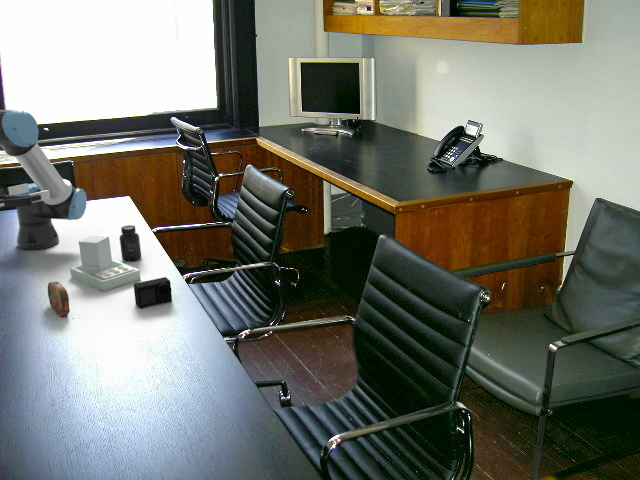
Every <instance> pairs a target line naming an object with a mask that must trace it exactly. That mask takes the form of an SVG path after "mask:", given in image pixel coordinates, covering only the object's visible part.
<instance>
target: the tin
mask: <svg viewBox="0 0 640 480" xmlns="http://www.w3.org/2000/svg"><path fill="white" fill-rule="evenodd" d="M47 284H48V285H47V296H48V301H49V305H50V307H51V309H52V310H53V311H54V312H55V314H56V315H57V316H58V317H64V316H68V315H70V302H69V300H70V298H69V294H68V291H67V289H66V288H65V287H64V285H63V284H62V283H61V282H59V281H50V282H48V283H47Z"/></svg>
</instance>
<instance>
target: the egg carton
mask: <svg viewBox="0 0 640 480" xmlns="http://www.w3.org/2000/svg"><path fill="white" fill-rule="evenodd" d="M132 271H134V269H133V268H130V267H127V266H125V265H120V266H118V267H116V268H111V269H109V270H106V271H102V272H100V273H97V274H95V277H96V278H99V279H101V280H103V281H104V280H107V279H110V278H113V277H116V276H119V275H122V274H125V273H128V272H132Z"/></svg>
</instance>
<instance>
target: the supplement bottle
mask: <svg viewBox="0 0 640 480" xmlns="http://www.w3.org/2000/svg"><path fill="white" fill-rule="evenodd" d="M120 232H121V234H120V236H119V244H120V254H121V260H122V261H124V262H126V263H127V262H129V263H131V262H136V261H139V260H141V258H142V250H141V241H140V236H139V234H138V233H137V232H136V226H135V225H131V224H129V225H128V224H127V225H124V226H121V231H120Z"/></svg>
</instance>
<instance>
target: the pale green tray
mask: <svg viewBox="0 0 640 480" xmlns="http://www.w3.org/2000/svg"><path fill="white" fill-rule="evenodd" d="M112 265H113V268H116V267H118V266H120V265H125V266H127V267H130V268H133V269H134V271H132V272H128V273H125V274H122V275H119V276H116V277H113V278H110V279H107V280H104V281H103V280H101V279H99V278H96V277H94V276H92V275H89V274H87V273H85V272H83V269H82V264H78V265H76V266H72V267H70V268H69V270H70V277H71V279H74V280H76V281H78V282H80V283H83V284H85V285H87V286H90V287H91V288H94V289H96V290H98V291H101V292H103V293H105V292H109V291H112V290H113V289H114V290H115V289H117V288H120V287H123V286H126V285H130V284H133V283H136V282H138V281H141V280H142V279H141V278H142V277H141V271H140V269H138V268H136V267H133V266H130V265H129V264H126V263H123V262H121V261H117V260H115V259H113V258H112Z"/></svg>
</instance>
